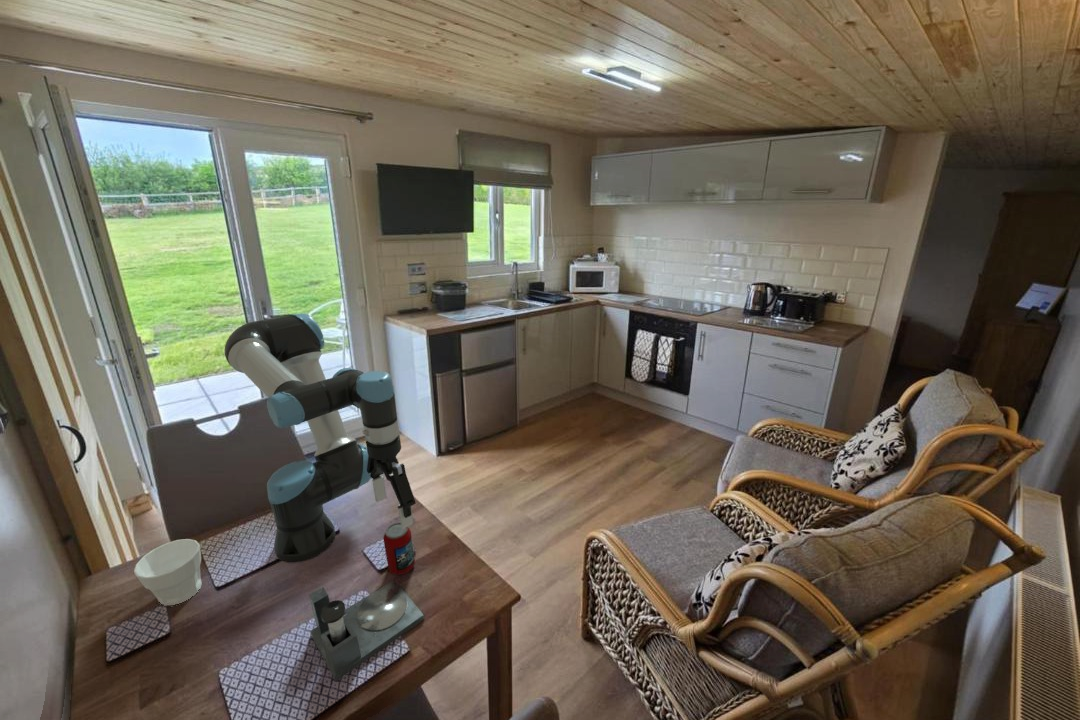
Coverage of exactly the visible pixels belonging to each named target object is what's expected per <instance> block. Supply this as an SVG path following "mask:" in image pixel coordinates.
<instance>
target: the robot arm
mask: <svg viewBox="0 0 1080 720" xmlns="http://www.w3.org/2000/svg"><path fill="white" fill-rule="evenodd" d="M228 336H229V337H228V338H227V340H226V342H225V345H224V357H225V360H226V361H227V363H228V364H229V365H230V366H231V368H233V370H235V371H236V372H239V373H241V374H244V375H245V376H246V377H247V378H248V379H249V381H251V382H252V383H253V384H254V385H255V386H256V387H257V388H258V390H260V392H262V393H263V395H265V397H267V400H266V409H267V411H268V415H269V417H270V419H271V420H272V423H273V424H274V426H276V428H279V429H286V428H288V427H293V426H298V425H301V424H303V423H305V422H307V426H308V427H309V429H310V432H311V434H312V438H313V440H314V443H315V445H316V451H315V453H314V455H313V456H314V458H315V462H313V463H312V462H311V461H309V460H306V459H305V460H300V461H297V460H296V461H292V462H290V463H288V464H285V465H283V466H281V467H280V468H278V469H277V470H275V471H274V472H273V473H272V475H271V476H270V477H269V479H268V480H267V484H266V489H267V490H266V491H267V500H268V502H269V503H270V508H271V510H272V514H273V519H274V523H275V525H276V532H275V539H274V544H273V547H274V552H275V556H276V557H277V559H278V560H280V561H281V562H284V563H290V564H296V563H300V562H306V561H308V560H312V559H314V558H315V557H318V556H319V555H321V554H323V553H324V552H325V551H326V550H328V549H329V547H331V546H332V545H333V543H334V541H335V538H336V531H335V530H336V529H335V525H334V524H333V521H331V519H330V518H329V517H328V515H327V513H326V512H324V506H323V505H325V504H327V503H328V502H331V501H334V500H335V499H337V498H339V497H342V496H343V495H346V494H348V493H350V492H352V491H354V490H358V489H359V488H360V487H362V486H363V485H366V484H368V483H369V482H370V480H371V479H372V481H371V482H372V487H373V492H374V497H375V498H374V499H375V502H376V503H378V502H379V503H380V501H383V500H385V499H387V498H388V496H387V489H386V488H387V487H386V483H385V478H386V481H388V482H390V485H391V487H392V489H393V492H394V494H395V496H396V499H397V502H399V504H397V509H398V515H399V521H400V522H399V523H401V528H402V529H404V528H406V527H408V528H409V527H410V526H412V525H413V524H414V519H413V513H412V512H413V511H412V506H414V505H416V499H415V497H414V494H413V490H412V488H411V484H410V482H409V479H408V476H407V471H406V468H405V465H404V463H400V464H399V460H398V458H397V456H398V454H399V453H400V451H401V450H402V443H401V437H400V426H399V419H398V413H397V406H396V405H397V404H396V403H397V402H396V396H395V386H394V384H393V379H392V375H391V374H390V373H388V372H386V371H380V370H374V371H373V370H372V371H368V372H363V371H362V370H359V369H355V368H352V367H344V368H341V369H339V370H338V371H337V372H336V373H334V374H333V376H332V377H331V378H327V379H326V376H325V374H324V371H323V369H322V366H321V363H320V358H321V356H322V354H323V353H322V349H324V346H325V338H324V334H323V331H322V328H321V327H320V326H319V324H318V322H317V321H316V320H315V318H314V317H312V316H311V315H309V314H308V313H303V312H302V313H296V314H293V313H292V314H291V313H290V314H289V313H288V314H287V315H282V316H278V317H273V318H272V317H271V318H268V319H267V318H266V319H261V320H257V321H256V320H254V321H250V322H247V323H244V324H242V325H240V326H239V327H237V328H236V329H235V330H234V331H233V332H231V334H230V335H228ZM351 406H353V407H356V409H357V408H358V409H359V410H360V414H361V419H362V425H363V430H362V434H363V435H364V437H365V440H366V441H365V445H364V444H363V443H358V441H357V440H356V438H354V437H351V436H350V435H348V432H347V429H346V427H345V425H344V422H343V419H342V417H341V414H340V411H339V410H342V409H344V408H348V407H351Z"/></svg>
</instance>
